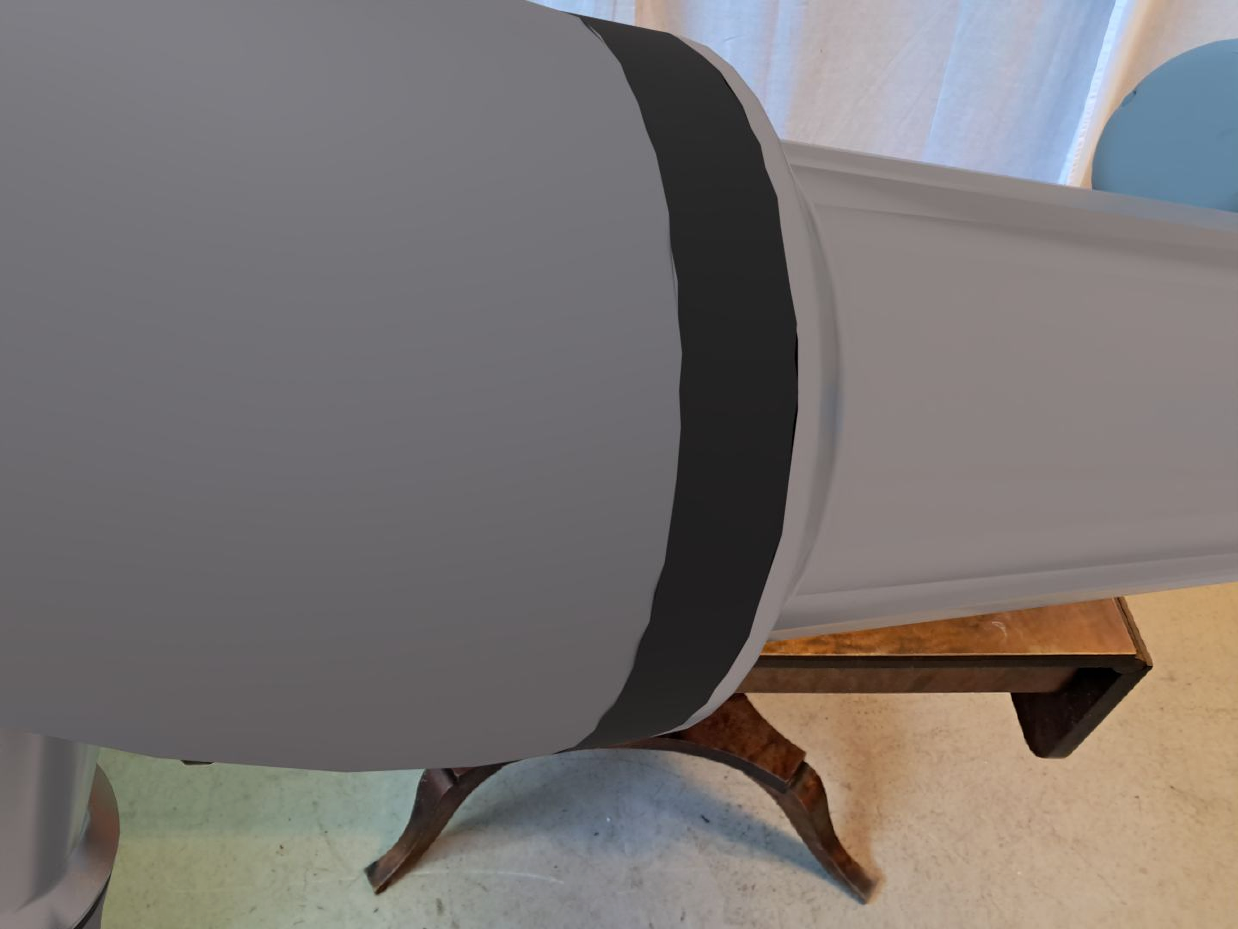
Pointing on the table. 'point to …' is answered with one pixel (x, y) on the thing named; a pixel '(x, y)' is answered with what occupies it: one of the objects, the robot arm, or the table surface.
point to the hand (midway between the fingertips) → (804, 433)
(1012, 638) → the table surface
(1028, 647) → the table surface
